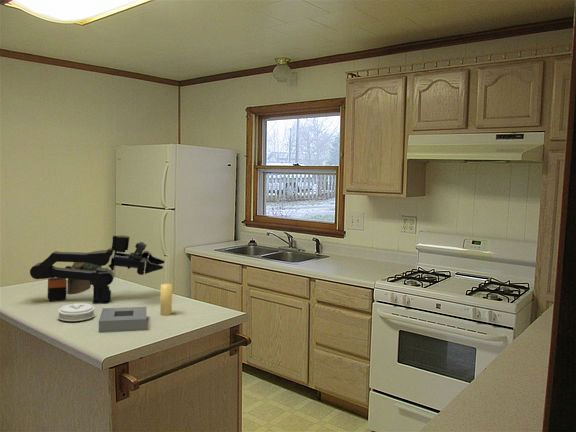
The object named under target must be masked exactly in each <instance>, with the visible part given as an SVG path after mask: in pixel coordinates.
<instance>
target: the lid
mask: <svg viewBox="0 0 576 432" xmlns="http://www.w3.org/2000/svg"><path fill="white" fill-rule="evenodd" d="M94 311H95V307H94V306H93V305H92V304H89V303H83V302H82V303H71V304H66V305H63V306H61V307H60V308H59V309H58V311H57V313H58V316H57V317H58V319H59V320H61V321H65V322H79V321H86V320H89V319H91V318H94V316H95V312H94Z"/></svg>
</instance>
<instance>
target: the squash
mask: <svg viewBox="0 0 576 432" xmlns="http://www.w3.org/2000/svg"><path fill="white" fill-rule="evenodd" d="M79 263H81V262H72V265H71V266H75V265H76V264H79ZM83 263H84V264H85V266H84V270H88V271H95V270H96V269H97V268H98V267H101V268H103V267H102V266H99V265H94V264H91V263H86V262H83ZM78 270H80V269H78ZM90 284H94V282H92V281H90Z"/></svg>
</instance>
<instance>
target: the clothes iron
mask: <svg viewBox="0 0 576 432" xmlns="http://www.w3.org/2000/svg"><path fill="white" fill-rule="evenodd" d="M84 266H85V264H84V263H83V262H81V263H79V264H76V265H75V266H72V265H66V266H65V267H64V268H69V269H80V270H84ZM90 288H91V283H90V281H87V280H77V279H67V288H66V293H67V294H68V295H76V294H80V293H83V292H85V291H88V290H89V289H90Z"/></svg>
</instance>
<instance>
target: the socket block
mask: <svg viewBox="0 0 576 432" xmlns="http://www.w3.org/2000/svg"><path fill="white" fill-rule="evenodd" d="M147 310H148V309H147V306H132V307H131V306H128V307H125V306H123V307H105V308H104V307H103V308H102V310H101V312H100V316H99V319H98V333H108V332H109V333H112V332H130V331H147Z"/></svg>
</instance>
